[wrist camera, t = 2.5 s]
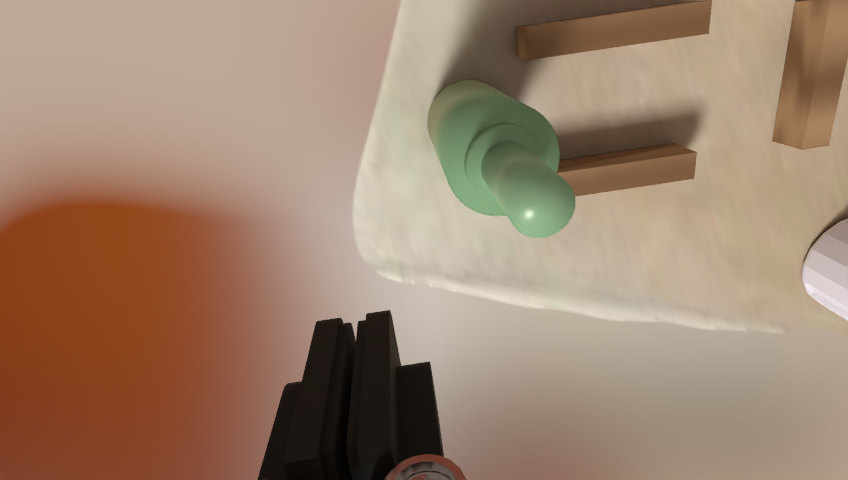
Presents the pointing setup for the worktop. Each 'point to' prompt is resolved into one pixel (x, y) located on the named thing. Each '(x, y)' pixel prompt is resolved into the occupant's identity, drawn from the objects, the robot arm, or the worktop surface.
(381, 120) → the worktop surface
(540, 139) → the bottle
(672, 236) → the worktop surface
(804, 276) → the soap bottle
